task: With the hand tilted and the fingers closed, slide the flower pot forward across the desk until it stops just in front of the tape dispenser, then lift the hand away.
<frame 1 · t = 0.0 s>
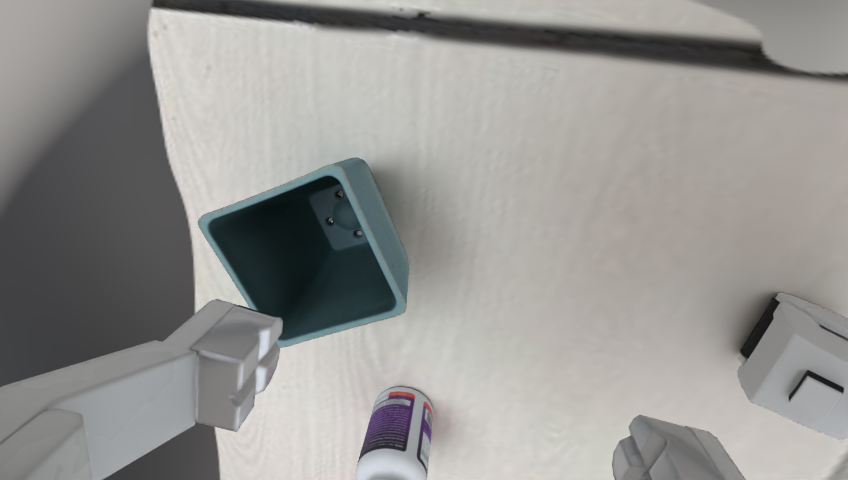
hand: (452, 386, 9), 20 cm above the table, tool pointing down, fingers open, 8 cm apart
pill bottle: (404, 406, 36), on the table
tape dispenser: (767, 325, 29), on the table
flower pot: (350, 213, 30), on the table
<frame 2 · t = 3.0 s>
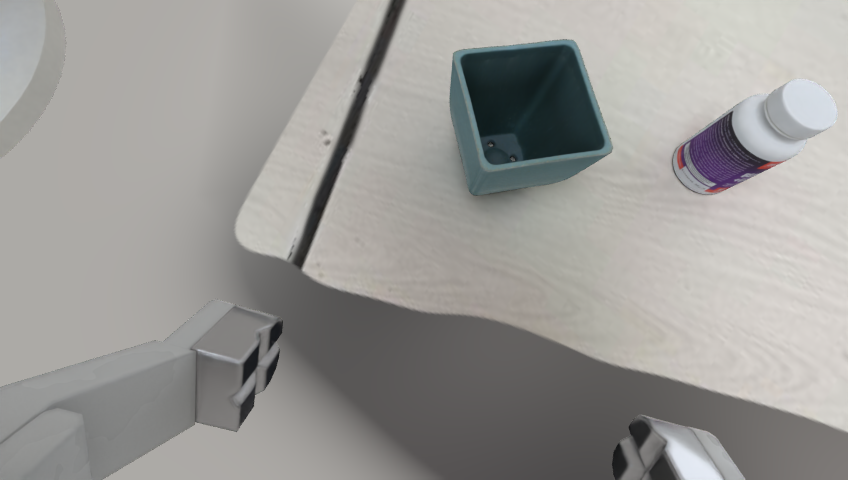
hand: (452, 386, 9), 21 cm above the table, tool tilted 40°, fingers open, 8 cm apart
pill bottle: (697, 169, 36), on the table
flower pot: (494, 164, 34), on the table
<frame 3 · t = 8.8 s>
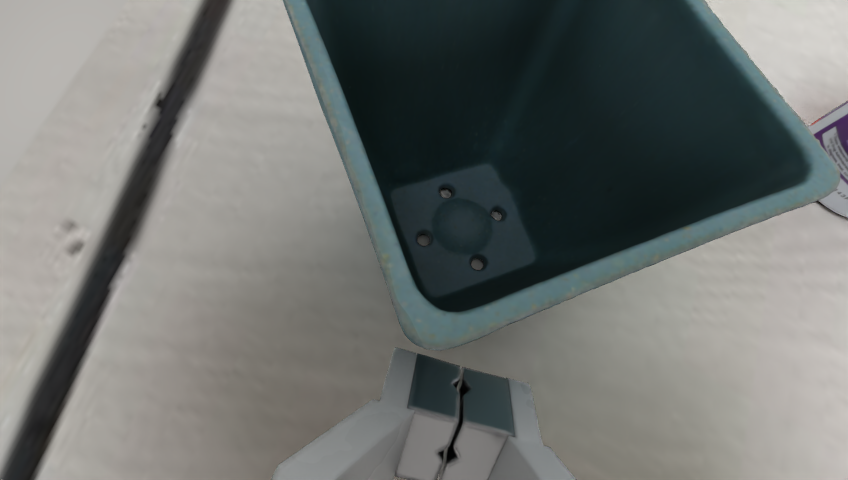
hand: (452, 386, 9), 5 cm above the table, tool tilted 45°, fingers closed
pill bottle: (837, 176, 19), on the table
flower pot: (461, 233, 16), on the table, touching gripper
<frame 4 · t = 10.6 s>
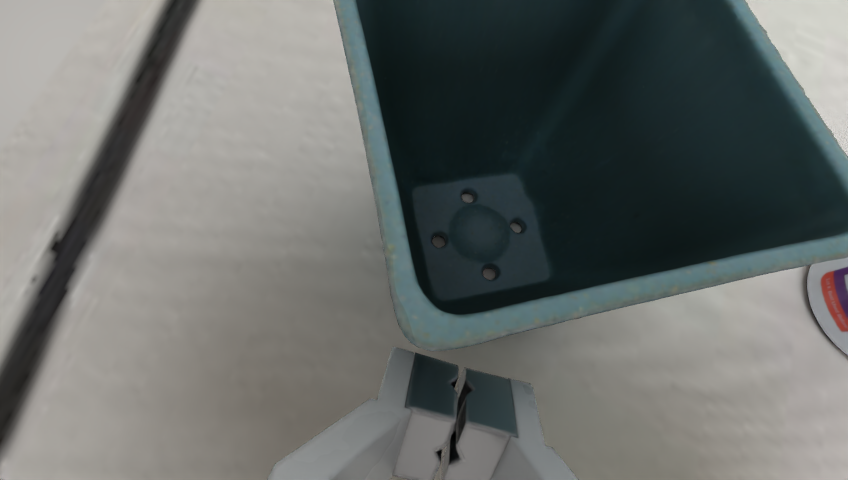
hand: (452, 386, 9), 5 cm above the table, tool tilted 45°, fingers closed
flower pot: (477, 240, 16), on the table, touching gripper
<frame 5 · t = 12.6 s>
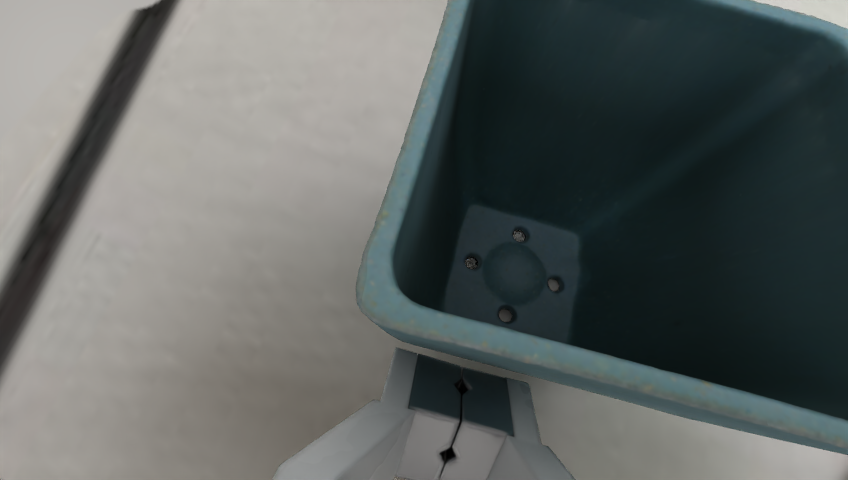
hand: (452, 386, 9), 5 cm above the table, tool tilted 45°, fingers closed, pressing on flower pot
flower pot: (510, 280, 15), on the table, touching gripper
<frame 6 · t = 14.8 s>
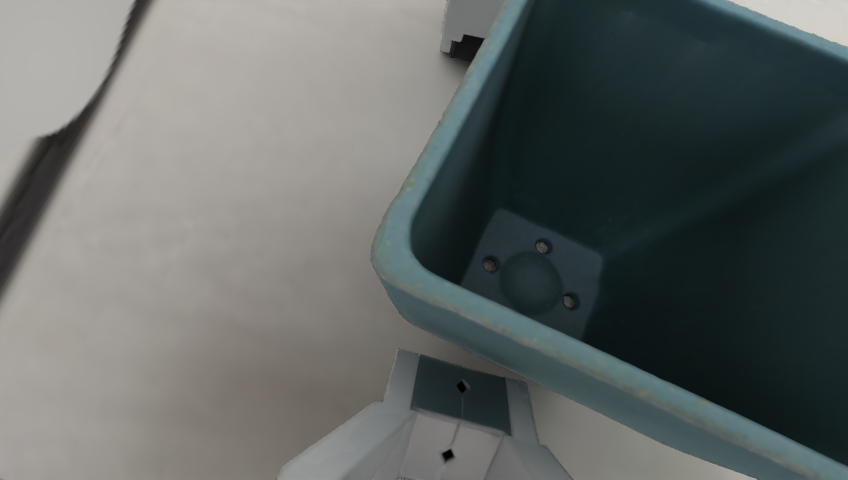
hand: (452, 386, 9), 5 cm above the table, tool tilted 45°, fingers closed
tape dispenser: (499, 56, 19), on the table
flower pot: (525, 289, 15), on the table, touching gripper
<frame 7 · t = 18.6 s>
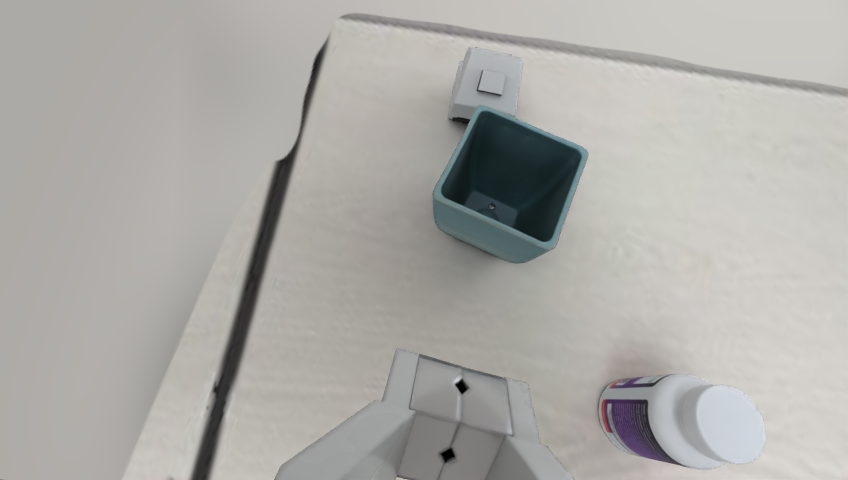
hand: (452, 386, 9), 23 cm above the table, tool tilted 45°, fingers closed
pill bottle: (628, 415, 31), on the table
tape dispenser: (476, 119, 40), on the table
flower pot: (484, 224, 36), on the table
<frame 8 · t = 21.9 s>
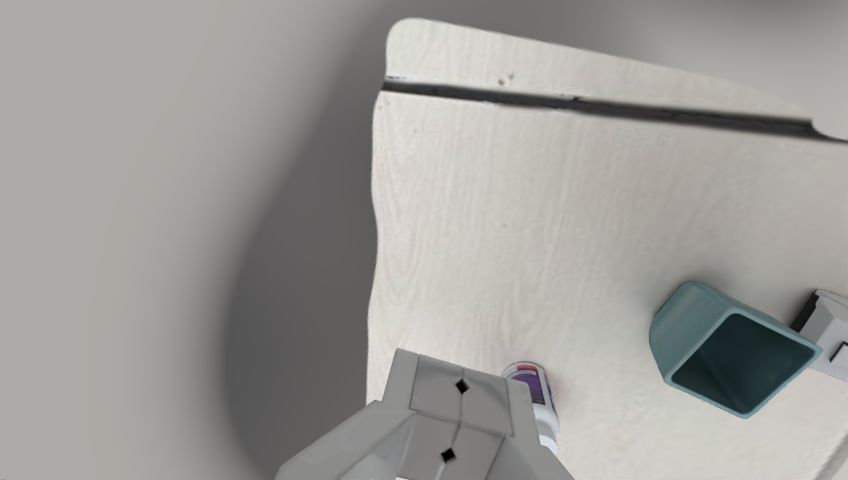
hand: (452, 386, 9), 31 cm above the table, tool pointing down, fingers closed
pill bottle: (523, 377, 47), on the table
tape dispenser: (807, 312, 40), on the table
flower pot: (685, 308, 41), on the table
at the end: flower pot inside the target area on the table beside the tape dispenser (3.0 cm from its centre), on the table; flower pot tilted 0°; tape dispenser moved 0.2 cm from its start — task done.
